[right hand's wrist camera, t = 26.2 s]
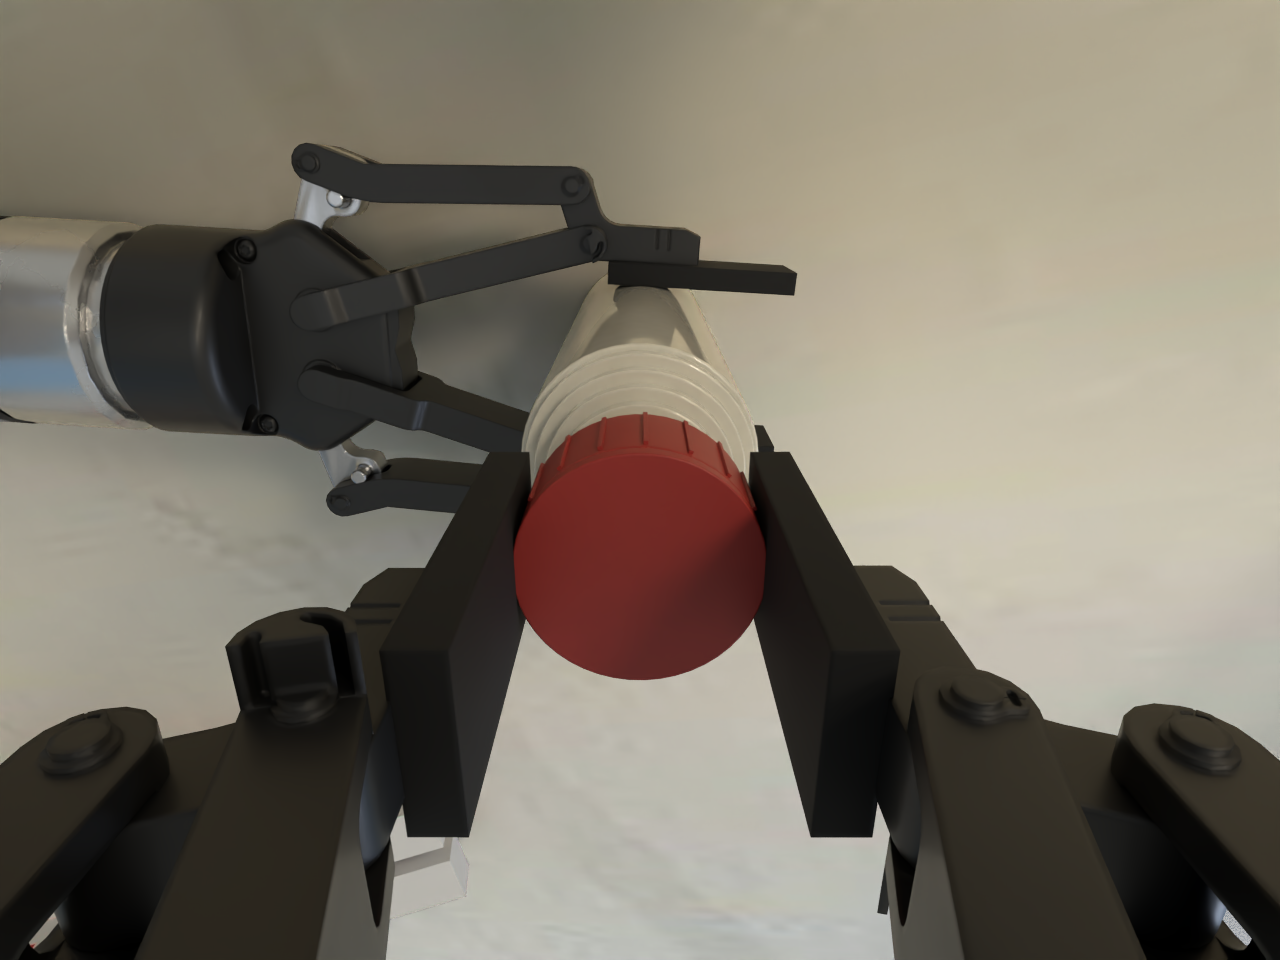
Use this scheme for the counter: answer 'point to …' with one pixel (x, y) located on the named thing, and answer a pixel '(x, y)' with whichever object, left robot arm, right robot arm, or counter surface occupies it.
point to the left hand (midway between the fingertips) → (776, 365)
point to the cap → (639, 549)
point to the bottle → (639, 372)
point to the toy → (402, 874)
